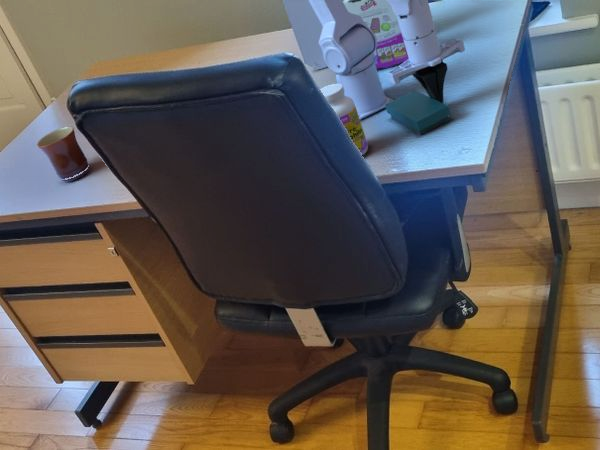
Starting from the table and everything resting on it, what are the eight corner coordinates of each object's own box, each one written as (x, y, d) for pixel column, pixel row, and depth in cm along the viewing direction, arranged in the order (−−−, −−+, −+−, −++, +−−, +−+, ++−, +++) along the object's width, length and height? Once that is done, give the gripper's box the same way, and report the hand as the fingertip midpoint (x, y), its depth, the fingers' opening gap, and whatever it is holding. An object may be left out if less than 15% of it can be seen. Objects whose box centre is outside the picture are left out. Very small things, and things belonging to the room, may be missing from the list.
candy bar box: (415, 53, 169) (395, -20, 161) (413, 62, 165) (392, -12, 157) (367, 64, 173) (344, -6, 165) (363, 74, 169) (340, 2, 161)
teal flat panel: (389, 118, 146) (384, 104, 144) (418, 104, 147) (414, 89, 145) (421, 136, 135) (416, 121, 134) (452, 120, 136) (448, 105, 135)
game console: (422, 40, 174) (398, -47, 165) (308, 73, 182) (279, -8, 172) (421, 31, 179) (398, -53, 169) (310, 64, 186) (282, -16, 177)
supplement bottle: (345, 167, 135) (322, 102, 129) (327, 158, 141) (304, 95, 134) (376, 149, 137) (354, 84, 131) (357, 141, 142) (335, 77, 136)
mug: (101, 167, 176) (79, 127, 171) (69, 188, 172) (46, 148, 167) (77, 161, 185) (56, 123, 180) (46, 181, 181) (24, 143, 176)
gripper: (393, 54, 130) (414, 125, 136) (466, 19, 132) (483, 90, 139) (375, 47, 136) (396, 115, 143) (445, 13, 138) (462, 82, 145)
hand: (437, 102), depth 141 cm, fingers closed
